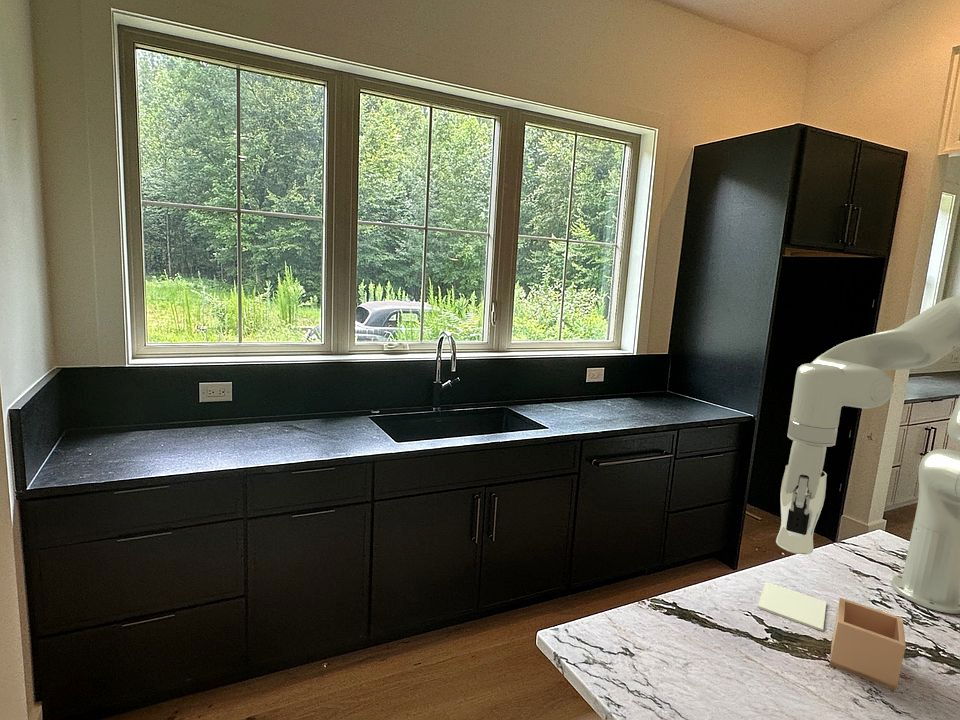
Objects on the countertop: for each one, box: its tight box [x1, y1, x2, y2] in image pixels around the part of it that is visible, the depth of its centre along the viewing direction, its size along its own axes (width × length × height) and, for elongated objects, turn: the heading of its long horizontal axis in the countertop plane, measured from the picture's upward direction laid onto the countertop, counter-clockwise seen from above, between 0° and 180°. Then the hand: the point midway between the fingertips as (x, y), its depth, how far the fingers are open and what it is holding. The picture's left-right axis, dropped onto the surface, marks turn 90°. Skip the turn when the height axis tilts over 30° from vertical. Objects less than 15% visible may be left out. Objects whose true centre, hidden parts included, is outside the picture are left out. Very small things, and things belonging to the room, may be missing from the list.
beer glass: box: [775, 464, 828, 555], centre depth 101 cm, size 7×7×15 cm
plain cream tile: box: [756, 581, 827, 632], centre depth 108 cm, size 11×11×1 cm
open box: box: [829, 597, 907, 692], centre depth 92 cm, size 9×9×8 cm
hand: (797, 524), depth 102 cm, fingers closed on beer glass, 6 cm apart
